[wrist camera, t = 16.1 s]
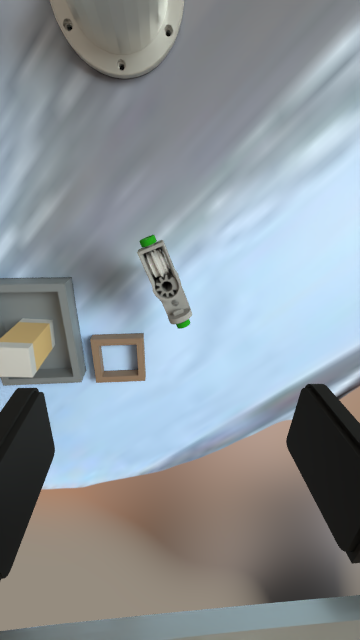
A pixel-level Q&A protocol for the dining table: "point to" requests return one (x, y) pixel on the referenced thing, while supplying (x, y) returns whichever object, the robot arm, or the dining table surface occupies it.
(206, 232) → the dining table surface
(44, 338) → the block
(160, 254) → the mechanical component
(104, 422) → the dining table surface
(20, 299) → the parts tray
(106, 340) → the brown flat square frame
